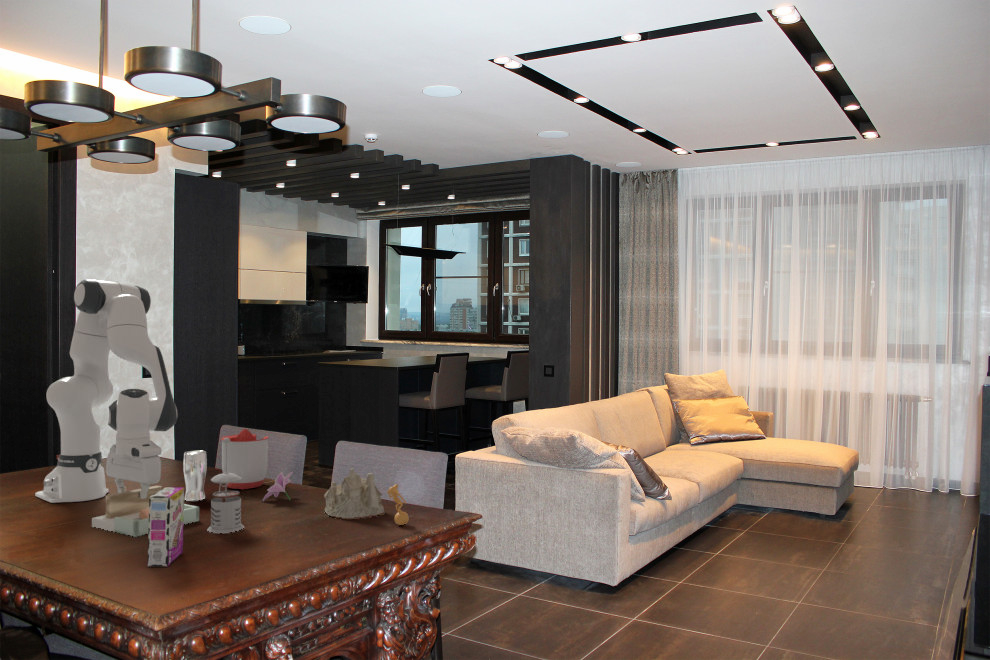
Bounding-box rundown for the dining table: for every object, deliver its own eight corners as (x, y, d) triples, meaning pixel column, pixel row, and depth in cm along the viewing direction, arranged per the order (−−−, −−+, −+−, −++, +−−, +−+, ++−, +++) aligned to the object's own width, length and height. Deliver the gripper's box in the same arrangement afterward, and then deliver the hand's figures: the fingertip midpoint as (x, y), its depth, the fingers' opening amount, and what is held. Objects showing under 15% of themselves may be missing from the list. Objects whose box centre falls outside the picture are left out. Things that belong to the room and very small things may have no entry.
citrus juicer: (281, 484, 269) (282, 427, 269) (241, 493, 255) (241, 433, 255) (251, 479, 278) (252, 423, 278) (210, 487, 263) (211, 429, 263)
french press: (209, 535, 205) (210, 441, 205) (203, 524, 216) (204, 435, 215) (247, 531, 210) (248, 439, 210) (240, 520, 220) (241, 433, 220)
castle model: (390, 514, 229) (387, 464, 229) (338, 524, 220) (335, 471, 220) (368, 507, 242) (366, 459, 242) (318, 516, 233) (315, 466, 233)
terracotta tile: (138, 516, 213) (140, 510, 213) (154, 512, 218) (156, 506, 217) (149, 526, 211) (151, 519, 211) (164, 522, 215) (166, 516, 215)
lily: (296, 498, 254) (282, 472, 254) (311, 490, 245) (297, 463, 246) (265, 515, 245) (251, 488, 246) (279, 508, 237) (264, 480, 237)
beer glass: (198, 502, 242) (198, 454, 242) (178, 501, 243) (178, 453, 243) (210, 497, 249) (211, 451, 248) (191, 496, 250) (191, 450, 250)
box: (114, 532, 207) (114, 517, 207) (178, 516, 224) (178, 502, 224) (135, 537, 202) (135, 522, 202) (199, 520, 220) (199, 506, 220)
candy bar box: (169, 567, 178) (169, 496, 178) (146, 567, 178) (147, 496, 178) (184, 552, 190) (185, 486, 189) (163, 553, 189) (164, 486, 189)
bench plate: (91, 526, 212) (91, 517, 212) (155, 511, 229) (156, 503, 229) (114, 532, 207) (114, 523, 207) (178, 516, 224) (178, 507, 224)
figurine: (415, 527, 215) (416, 484, 215) (397, 531, 211) (397, 487, 211) (399, 521, 222) (400, 479, 222) (381, 524, 218) (382, 482, 218)
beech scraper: (105, 517, 212) (105, 495, 212) (156, 505, 226) (156, 485, 226) (111, 518, 211) (111, 496, 211) (162, 507, 225) (162, 486, 225)
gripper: (100, 444, 221) (99, 492, 221) (145, 452, 210) (144, 503, 210) (120, 442, 226) (120, 489, 226) (165, 449, 216) (164, 498, 216)
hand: (132, 495), depth 218 cm, fingers open, 8 cm apart
